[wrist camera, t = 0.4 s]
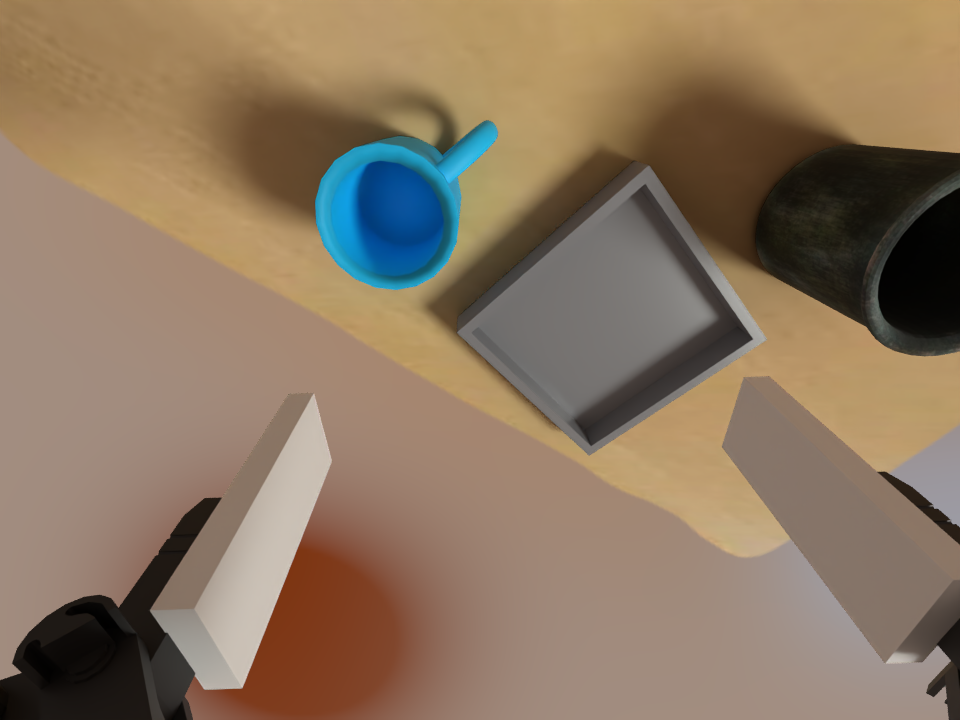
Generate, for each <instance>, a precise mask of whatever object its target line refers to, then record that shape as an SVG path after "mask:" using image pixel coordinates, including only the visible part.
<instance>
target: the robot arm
mask: <svg viewBox="0 0 960 720" xmlns="http://www.w3.org/2000/svg"><path fill="white" fill-rule="evenodd" d="M722 448H723V449H724V450H725V452H726V453H727V454H728V456H729V457H730V458H731V460H732V461H733V462H734V463H735V465H736V466H737V467H738V469H739V470H740V471H741V473H742V474H743V475H744V477H745V478H746V479H747V481H748V482H749V483H750V485H751V486H752V487H753V489H754V490H755V491H756V493H757V494H758V495H759V497H760V498H761V499H762V501H763V502H764V503H765V505H766V506H767V507H768V509H769V510H770V511H771V513H772V514H773V515H774V517H775V518H776V519H777V521H778V522H779V523H780V525H781V526H782V527H783V529H784V530H785V531H786V533H787V534H788V535H789V537H790V538H791V539H792V541H793V542H794V543H795V545H796V546H797V547H798V549H799V550H800V551H801V552H802V554H803V555H804V557H805V558H806V559H807V560H808V562H809V563H810V564H811V566H812V567H813V568H814V570H815V571H816V572H817V574H818V575H819V576H820V578H821V579H822V580H823V582H824V583H825V584H826V586H827V587H828V588H829V590H830V591H831V592H832V594H833V595H834V596H835V598H836V599H837V600H838V602H839V603H840V604H841V605H842V607H843V608H844V610H845V611H846V612H847V614H848V615H849V616H850V618H851V619H852V620H853V622H854V623H855V624H856V626H857V627H858V628H859V630H860V631H861V632H862V634H863V635H864V636H865V638H866V639H867V640H868V642H869V643H870V644H871V646H872V647H873V648H874V649H875V651H876V652H877V653H878V655H879V656H880V657H881V659H882V660H883V661H884V663H885V664H886V663H913V662H923V661H924V660H925V659H926V657H927V656H928V655H929V654H930V653H931V652H932V651H933V650H934V648H936V646H937V645H938V646H939V647H940V648H941V649H942V651H943V652H944V653H945V654H946V655H947V656H948V657H949V659H950V660H951V662H950V663H949V664H948V665H947V666H946V667H945V668H944V669H943V670H942V671H941V672H940V673H939V674H938V675H937V676H936V677H935V679H933V681H932V682H931V683H930V684H929V685H928V689H927V692H926V693H927V694H929V695H931V696H933V697H934V696H935V695H936V694H937V693H938V692H939V691H940V690H941V689H942V688H943V687H946V693H947V699H946V700H945V703H946V704H947V705H948V716H949V720H960V527H959V526H957V525H956V524H952V523H951V520H950V519H949V518H948V517H947V516H946V515H944V514H943V513H942V512H941V511H940V510H939V509H934V507H933V504H931V503H930V502H929V501H928V500H927V499H926V498H924V497H923V496H922V495H921V494H920V493H919V492H917V491H916V490H915V489H914V488H913V487H911V486H909V485H908V484H906V483H904V482H902V481H901V480H899V479H897V478H895V477H894V476H892V475H890V474H888V473H887V472H877V471H876V470H874V469H873V468H872V467H871V466H870V465H869V464H868V463H866V462H865V461H864V460H863V459H862V458H861V457H860V456H859V455H857V454H856V453H855V452H854V451H853V450H852V449H851V448H849V447H848V446H847V445H846V444H845V443H844V442H843V441H842V440H840V439H839V438H838V437H837V436H836V435H835V434H834V433H833V432H831V431H830V430H829V429H828V428H827V427H826V426H825V425H823V424H822V423H821V422H820V421H819V420H818V419H817V418H816V417H814V416H813V415H812V414H811V413H810V412H809V411H808V410H807V409H805V408H804V407H803V406H802V405H801V404H800V403H799V402H797V401H796V400H795V399H794V398H793V397H792V396H791V395H790V394H788V393H787V392H786V391H785V390H784V389H783V388H782V387H780V386H779V385H778V384H777V383H776V382H775V381H774V380H773V379H771V378H770V377H769V376H764V377H744V379H743V382H742V385H741V388H740V391H739V394H738V398H737V401H736V404H735V407H734V410H733V413H732V416H731V420H730V423H729V426H728V429H727V432H726V435H725V439H724V442H723V445H722ZM331 462H332V460H331V456H330V452H329V448H328V445H327V441H326V437H325V433H324V429H323V426H322V422H321V418H320V414H319V411H318V407H317V403H316V399H315V395H314V393H301V394H288V396H287V398H286V399H285V401H284V402H283V404H282V405H281V407H280V408H279V410H278V411H277V413H276V415H275V416H274V418H273V419H272V421H271V422H270V424H269V426H268V427H267V429H266V430H265V432H264V433H263V435H262V437H261V438H260V439H259V441H258V443H257V444H256V446H255V447H254V449H253V450H252V452H251V454H250V455H249V457H248V458H247V460H246V461H245V463H244V464H243V466H242V468H241V469H240V471H239V472H238V474H237V475H236V477H235V478H234V480H233V482H232V483H231V485H230V486H229V488H228V489H227V491H226V492H225V494H224V496H223V497H222V498H204V499H203V500H202V501H201V502H200V503H198V504H197V505H196V506H195V507H194V508H192V509H191V510H190V511H189V512H188V513H187V514H185V515H184V516H183V518H182V519H181V521H180V522H179V523H178V525H177V526H176V528H175V529H174V531H173V532H172V533H171V535H170V536H171V537H170V539H167V540H166V542H165V543H164V545H163V546H162V547H161V549H160V550H159V554H158V555H157V556H155V558H154V559H153V560H152V562H151V563H150V564H149V566H148V567H147V569H146V570H145V571H144V573H143V574H142V576H141V577H140V579H139V580H138V581H137V583H136V584H135V586H134V587H133V588H132V590H131V591H130V593H129V594H128V596H127V597H126V598H125V600H124V601H123V603H122V604H121V605H120V607H119V608H118V607H117V606H116V604H115V603H114V602H113V600H112V599H111V598H109V597H106V596H102V595H94V596H87V597H83V598H80V599H78V600H75V601H73V602H70V603H68V604H65V605H64V606H62V607H61V608H59V609H57V610H56V611H54V612H53V613H51V614H50V615H48V616H46V617H45V618H44V619H43V620H42V621H41V622H40V623H39V624H38V625H36V626H35V627H34V628H33V629H32V630H31V631H30V632H29V633H28V634H27V636H26V637H25V638H24V640H23V641H22V643H21V644H20V645H19V647H18V648H17V650H16V653H15V656H14V660H13V663H12V664H13V665H14V666H16V668H18V669H19V670H20V671H21V672H22V673H20V674H17V675H14V676H11V677H8V678H5V679H3V680H0V720H193V718H192V713H191V710H190V706H189V703H188V701H187V699H186V698H185V694H186V692H187V690H188V688H189V686H190V683H191V682H192V680H193V677H194V676H195V677H196V678H197V679H198V681H199V682H200V684H201V685H202V686H203V688H204V689H205V690H207V689H234V688H242V687H243V685H244V682H245V680H246V677H247V675H248V672H249V670H250V667H251V665H252V662H253V660H254V657H255V654H256V652H257V649H258V647H259V644H260V642H261V639H262V637H263V634H264V632H265V629H266V627H267V624H268V621H269V619H270V617H271V614H272V612H273V609H274V606H275V604H276V601H277V599H278V596H279V594H280V591H281V589H282V586H283V583H284V581H285V579H286V576H287V573H288V571H289V568H290V566H291V563H292V561H293V558H294V556H295V553H296V551H297V548H298V546H299V543H300V541H301V538H302V536H303V533H304V530H305V528H306V525H307V523H308V520H309V518H310V515H311V513H312V510H313V508H314V505H315V503H316V500H317V497H318V495H319V493H320V490H321V487H322V485H323V482H324V480H325V477H326V475H327V472H328V470H329V467H330V464H331Z"/></svg>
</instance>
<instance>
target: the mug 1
mask: <svg viewBox="0 0 960 720" xmlns="http://www.w3.org/2000/svg"><path fill="white" fill-rule="evenodd" d="M497 136H498V131H497V128H496V126H495V124H494V123H493V122H491V121H488V120H486V121H484V122H482V123H480V124H479V125H478V126H477V127H475V128H474V129H473V130H472V131H470V132H469V133H468V134H467V135H466V136H464V137H463V138H462V139H461V140H460V141H458V142H457V143H456V144H455V145H454V146H452V147H451V148H450V149H449V150H448V151H447V152H445V153H444V154H443V155H442V154H441V153H440V152H439V151H438V150H437V149H436V148H435V147H433V146H431V145H430V144H428V143H426V142H424V141H422V140H420V139H418V138H411V137H405V136H396V137H391V138H386V139H381V140H378V141H375V142H372V143H368V144H365V145H362V146H358V147H355V148H353V149H352V150H350V151H349V152H347V153H345V154H344V155H342V156H341V157H339V158H338V159H336V160H335V161H334V162H333V164H332V165H331V166H330V168H329V169H328V171H327V172H326V173H325V175H324V176H323V177H322V179H321V182H320V186H319V189H318V193H317V196H316V200H315V206H316V225H317V227H318V230H319V233H320V236H321V239H322V241H323V244H324V246H325V248H326V249H327V251H328V252H329V253H330V255H331V256H332V258H333V259H334V260H335V262H336V263H337V265H339V266H340V267H341V268H342V269H344V270H345V271H346V272H347V273H349V274H350V275H351V276H352V277H353V278H355V279H357V280H359V281H361V282H364V283H366V284H368V285H371V286H373V287H376V288H385V289H393V290H398V289H404V288H409V287H415V286H417V285H419V284H421V283H423V282H425V281H427V280H429V279H430V278H432V277H434V276H435V275H436V274H437V273H438V272H439V271H440V270H441V269H442V267H443V266H444V265H445V264H446V263H447V262H448V260H449V258H450V256H451V254H452V251H453V249H454V247H455V245H456V243H457V234H458V225H459V215H460V205H461V192H460V187H459V182H458V178H457V177H458V176H459V175H460V174H461V173H462V172H463V171H465V170H466V169H467V168H468V167H469V166H470V165H471V164H472V163H474V162H475V161H476V160H477V159H478V158H479V157H480V156H481V155H482V154H483V153H484V152H485V151H486V150H487V149H488V148H489V147H490V146H491V145H492V144H493V143H494V142H495V140H496V138H497Z"/></svg>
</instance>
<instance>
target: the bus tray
mask: <svg viewBox="0 0 960 720" xmlns="http://www.w3.org/2000/svg"><path fill="white" fill-rule="evenodd" d="M457 333H458V334H459V335H460V336H461V337H462V338H463V339H464V340H465V341H466V342H467V343H468V344H469V345H471V346H472V347H473V348H474V349H475V350H476V351H477V352H478V353H479V354H480V355H481V356H482V357H483V358H485V359H486V360H487V361H488V362H489V363H490V364H491V365H492V366H493V367H494V368H495V369H496V370H497V371H499V372H500V373H501V374H502V375H503V376H504V377H505V378H506V379H507V380H508V381H509V382H510V383H511V384H513V385H514V386H515V387H516V388H517V389H518V390H519V391H520V392H521V393H522V394H523V395H524V396H525V397H527V398H528V399H529V400H530V401H531V402H532V403H533V404H534V405H535V406H536V407H537V408H538V409H539V410H541V411H542V412H543V413H544V414H545V415H546V416H547V417H548V418H549V419H550V420H551V421H552V422H553V423H555V424H556V425H557V426H558V427H559V428H560V429H561V430H562V431H563V432H564V433H565V434H566V435H567V436H569V437H570V438H571V439H572V440H573V441H574V442H575V443H576V444H577V445H578V446H579V447H580V448H581V449H583V450H584V451H585V452H586V453H587V454H588V455H591V454H592V453H594V452H595V451H597V450H599V449H600V448H602V447H603V446H605V445H606V444H608V443H609V442H611V441H612V440H614V439H615V438H617V437H618V436H620V435H622V434H623V433H625V432H626V431H628V430H629V429H631V428H632V427H634V426H635V425H637V424H638V423H640V422H641V421H643V420H645V419H646V418H648V417H649V416H651V415H652V414H654V413H655V412H657V411H658V410H660V409H661V408H663V407H664V406H666V405H668V404H669V403H671V402H672V401H674V400H675V399H677V398H678V397H680V396H681V395H683V394H684V393H686V392H687V391H689V390H691V389H692V388H694V387H695V386H697V385H698V384H700V383H701V382H703V381H704V380H706V379H707V378H709V377H710V376H712V375H714V374H715V373H717V372H718V371H720V370H721V369H723V368H724V367H726V366H727V365H729V364H730V363H732V362H733V361H735V360H737V359H738V358H740V357H741V356H743V355H744V354H746V353H747V352H749V351H750V350H752V349H753V348H755V347H756V346H758V345H760V344H761V343H763V342H764V341H766V340H767V339H766V337H765V336H764V334H763V333H762V331H761V330H760V328H759V327H758V325H757V324H756V322H755V321H754V319H753V318H752V316H751V315H750V313H749V312H748V310H747V309H746V307H745V306H744V305H743V303H742V302H741V300H740V299H739V297H738V296H737V294H736V293H735V291H734V290H733V288H732V287H731V285H730V284H729V282H728V281H727V279H726V278H725V276H724V275H723V273H722V272H721V271H720V269H719V268H718V266H717V265H716V263H715V262H714V260H713V259H712V257H711V256H710V254H709V253H708V251H707V250H706V248H705V247H704V245H703V244H702V242H701V241H700V240H699V238H698V237H697V235H696V234H695V232H694V231H693V229H692V228H691V226H690V225H689V223H688V222H687V220H686V219H685V217H684V216H683V214H682V213H681V211H680V210H679V208H678V207H677V206H676V204H675V203H674V201H673V200H672V198H671V197H670V195H669V194H668V192H667V191H666V189H665V188H664V186H663V185H662V183H661V182H660V180H659V179H658V177H657V176H656V175H655V173H654V172H653V170H652V169H651V167H650V166H649V165H647V164H644V163H640V162H637V161H633V162H632V163H631V164H630V165H629V166H628V167H626V168H625V169H624V170H623V171H622V172H621V173H620V174H619V175H617V176H616V177H615V178H614V179H613V180H612V181H611V182H609V183H608V184H607V185H606V186H605V187H604V188H603V189H602V190H600V191H599V192H598V193H597V194H596V195H595V196H594V197H593V198H591V199H590V200H589V201H588V202H587V203H586V204H585V205H584V206H582V207H581V208H580V209H579V210H578V211H577V212H576V213H575V214H573V215H572V216H571V217H570V218H569V219H568V220H567V221H565V222H564V223H563V224H562V225H561V226H560V227H559V228H558V229H556V230H555V231H554V232H553V233H552V234H551V235H550V236H549V237H547V238H546V239H545V240H544V241H543V242H542V243H541V244H540V245H538V246H537V247H536V248H535V249H534V250H533V251H532V252H531V253H529V254H528V255H527V256H526V257H525V258H524V259H523V260H521V261H520V262H519V263H518V264H517V265H516V266H515V267H514V268H512V269H511V270H510V271H509V272H508V273H507V274H506V275H505V276H503V277H502V278H501V279H500V280H499V281H498V282H497V283H496V284H494V285H493V286H492V287H491V288H490V289H489V290H488V291H486V292H485V293H484V294H483V295H482V296H481V297H480V298H479V299H477V300H476V301H475V302H474V303H473V304H472V305H471V306H470V307H468V308H467V309H466V310H465V311H464V312H463V313H462V314H461V315H459V316H458V320H457Z"/></svg>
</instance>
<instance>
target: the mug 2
mask: <svg viewBox="0 0 960 720" xmlns="http://www.w3.org/2000/svg"><path fill="white" fill-rule="evenodd" d="M756 247H757V252H758V255H759V259H760V260H761V262H762V264H763V266H764V267H765V268H766V270H767V271H768V272H769V273H770V274H771V275H773V276H774V277H775V278H777V279H779V280H781V281H783V282H784V283H786V284H788V285H790V286H792V287H794V288H795V289H797V290H799V291H801V292H803V293H805V294H807V295H808V296H810V297H812V298H814V299H816V300H818V301H820V302H821V303H823V304H825V305H827V306H829V307H831V308H832V309H834V310H836V311H838V312H840V313H842V314H844V315H845V316H847V317H849V318H851V319H853V320H855V321H857V322H858V323H860V324H862V325H864V326H866V327H867V328H868V330H869V331H870V332H871V334H872V335H873V336H874V337H875V339H876V340H878V341H879V342H880V343H881V344H883V345H884V346H886V347H888V348H890V349H892V350H894V351H897V352H901V353H904V354H908V355H916V356H938V355H944V354H950V353H955V352H958V351H960V153H950V152H938V151H926V150H914V149H902V148H890V147H878V146H866V145H854V144H853V145H840V146H836V147H831V148H828V149H826V150H823V151H820V152H818V153H816V154H814V155H812V156H810V157H808V158H807V159H805V160H804V161H802V162H801V163H799V164H798V165H797V166H795V167H794V168H793V169H792V170H791V171H790V172H789V173H787V174H786V175H785V176H784V177H783V178H782V179H781V180H780V182H779V183H778V184H777V185H776V186H775V187H774V189H773V190H772V192H771V193H770V195H769V196H768V198H767V200H766V202H765V203H764V205H763V207H762V210H761V213H760V216H759V219H758V224H757V229H756Z"/></svg>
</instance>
